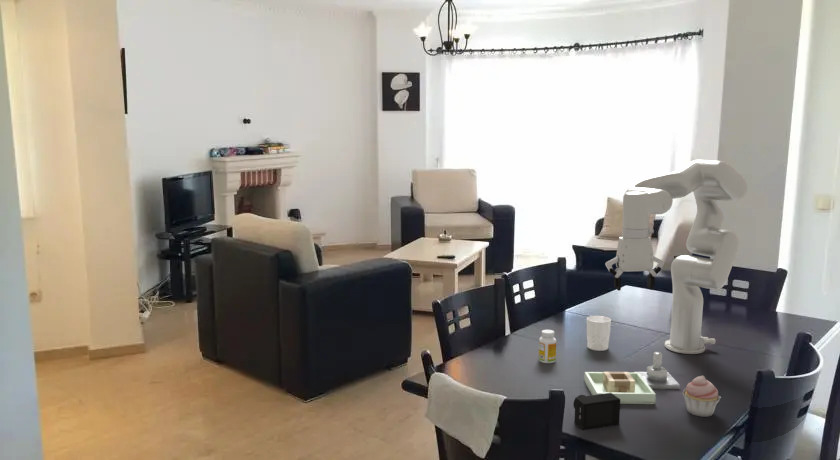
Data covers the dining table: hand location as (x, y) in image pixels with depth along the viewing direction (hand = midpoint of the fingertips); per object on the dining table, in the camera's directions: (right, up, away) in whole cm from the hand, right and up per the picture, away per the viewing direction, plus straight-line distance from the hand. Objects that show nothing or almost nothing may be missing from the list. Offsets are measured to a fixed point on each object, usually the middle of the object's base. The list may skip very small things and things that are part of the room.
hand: (634, 288), depth 199 cm
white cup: (-5, -22, +24) cm, 33 cm away
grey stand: (+4, -27, -6) cm, 28 cm away
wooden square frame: (-9, -27, -13) cm, 32 cm away
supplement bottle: (-24, -24, +11) cm, 36 cm away
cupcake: (+9, -30, -26) cm, 41 cm away
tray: (-9, -28, -13) cm, 32 cm away
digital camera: (-20, -31, -32) cm, 49 cm away
